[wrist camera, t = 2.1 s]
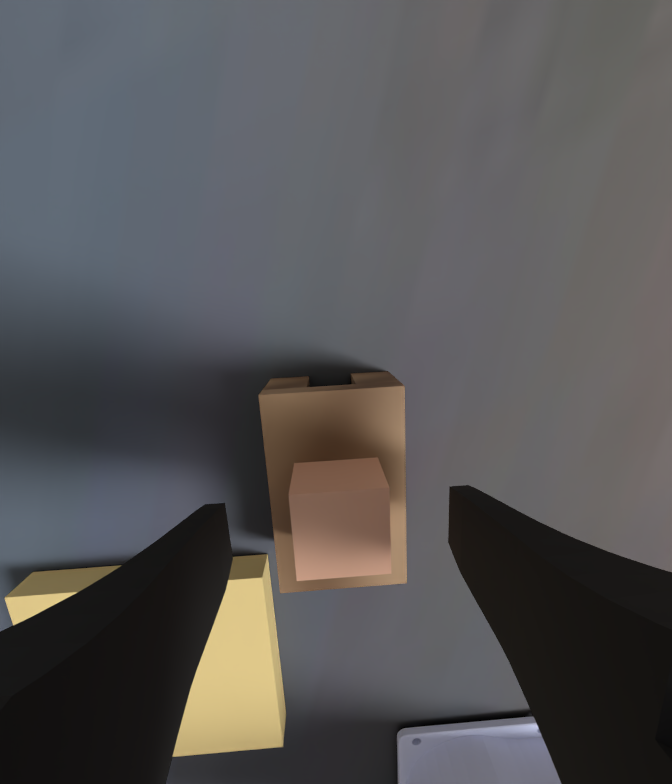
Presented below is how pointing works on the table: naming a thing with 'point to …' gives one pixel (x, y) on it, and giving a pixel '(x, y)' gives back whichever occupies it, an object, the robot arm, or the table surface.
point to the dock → (206, 657)
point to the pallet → (334, 456)
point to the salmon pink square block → (340, 519)
